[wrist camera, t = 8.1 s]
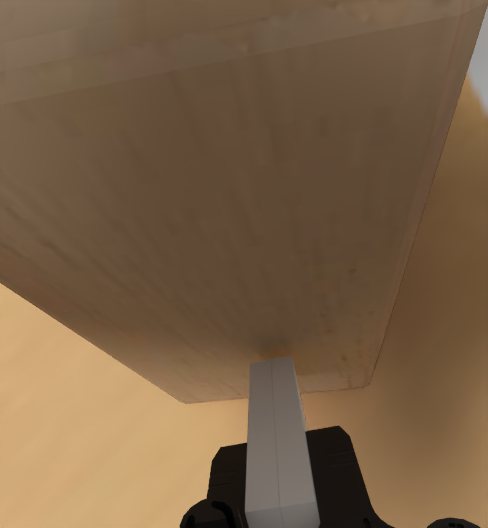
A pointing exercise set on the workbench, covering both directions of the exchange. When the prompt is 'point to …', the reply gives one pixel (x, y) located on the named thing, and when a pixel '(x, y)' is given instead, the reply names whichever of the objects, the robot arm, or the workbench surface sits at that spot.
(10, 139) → the wooden block
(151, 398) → the workbench surface
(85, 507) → the workbench surface
